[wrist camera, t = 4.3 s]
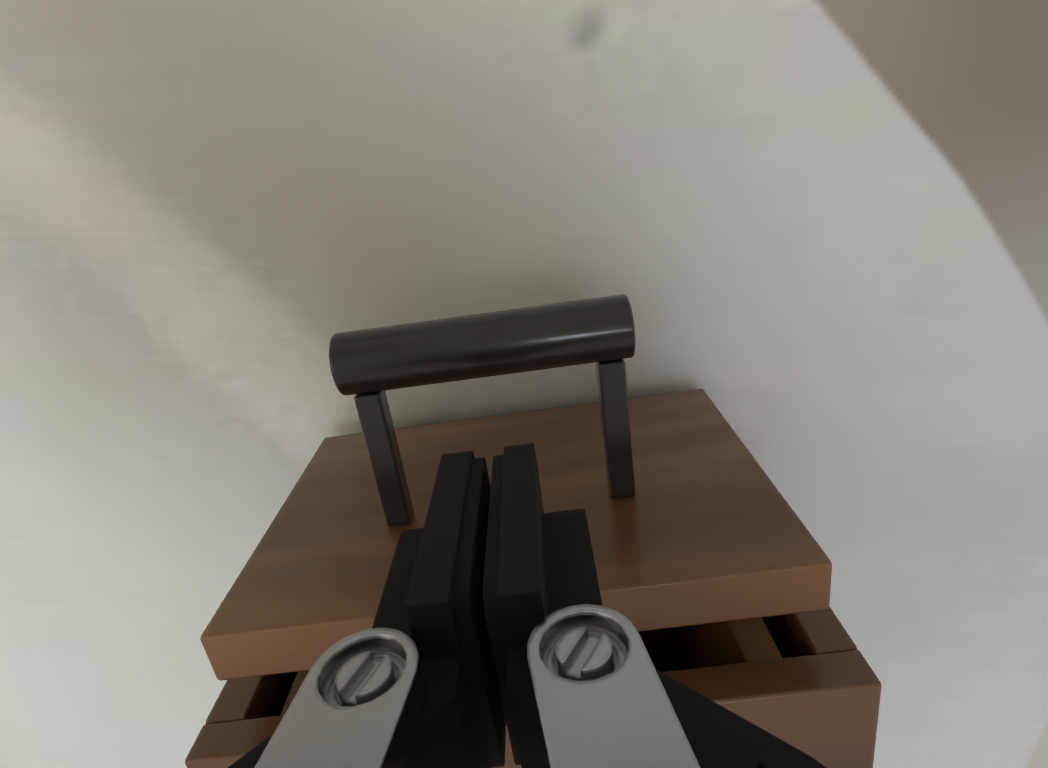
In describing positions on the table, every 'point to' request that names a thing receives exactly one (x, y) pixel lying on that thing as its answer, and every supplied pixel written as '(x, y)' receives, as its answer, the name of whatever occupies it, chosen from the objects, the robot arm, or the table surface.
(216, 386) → the table surface
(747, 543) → the drawer
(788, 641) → the cabinet
